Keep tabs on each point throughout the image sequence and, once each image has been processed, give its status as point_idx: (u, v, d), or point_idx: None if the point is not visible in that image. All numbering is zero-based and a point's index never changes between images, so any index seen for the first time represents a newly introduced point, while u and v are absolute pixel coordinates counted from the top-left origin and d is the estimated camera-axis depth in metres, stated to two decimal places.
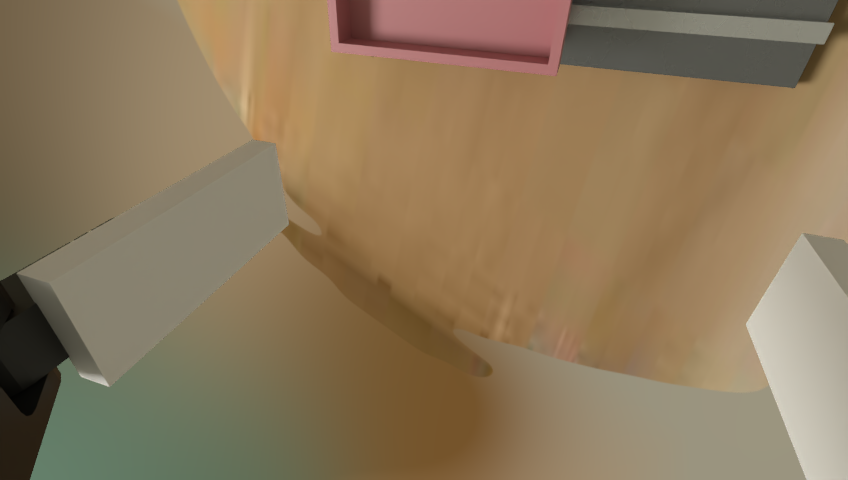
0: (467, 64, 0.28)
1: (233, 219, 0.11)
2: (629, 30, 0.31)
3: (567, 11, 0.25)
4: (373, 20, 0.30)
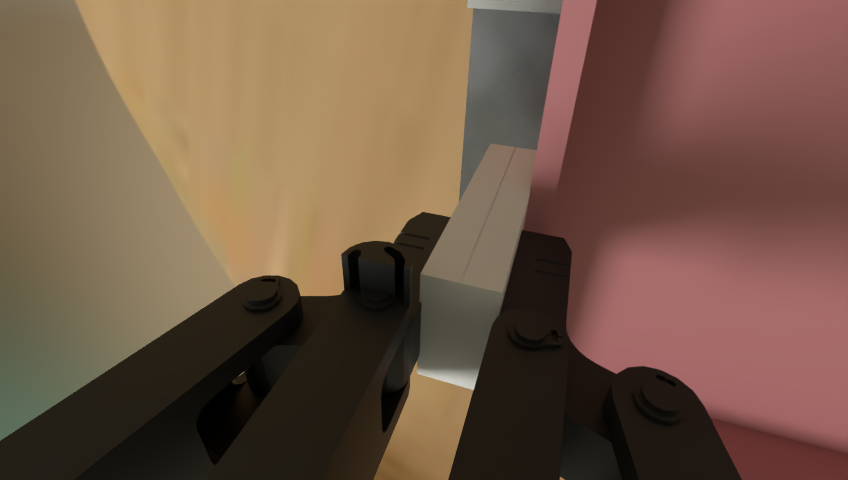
0: None
1: None
2: None
3: None
4: None
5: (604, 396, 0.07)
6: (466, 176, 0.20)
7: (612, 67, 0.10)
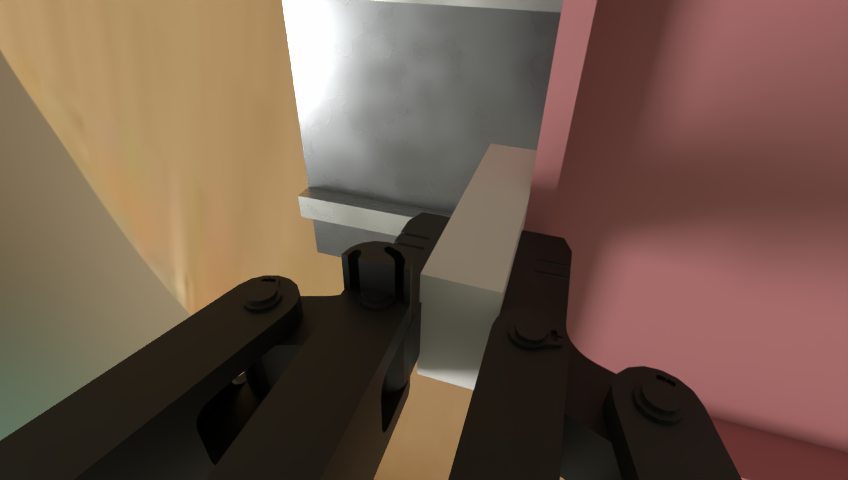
0: None
1: None
2: None
3: None
4: None
5: (604, 396, 0.07)
6: (307, 150, 0.21)
7: (612, 65, 0.10)
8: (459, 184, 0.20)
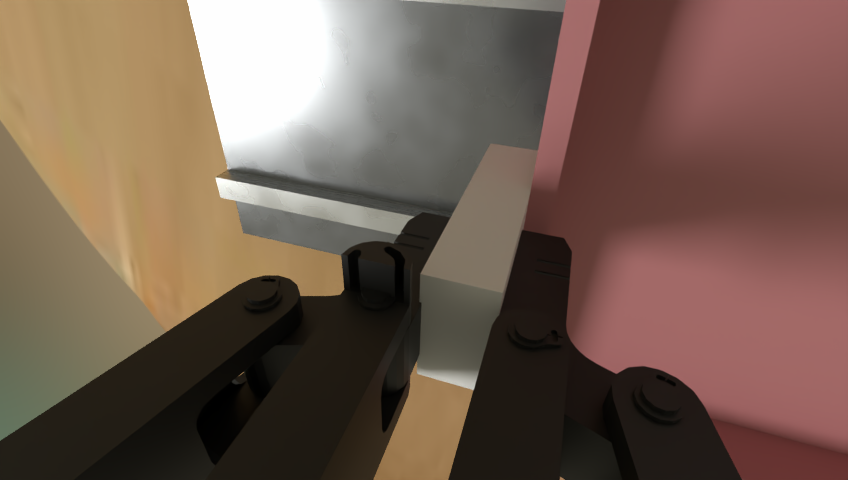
0: None
1: None
2: None
3: None
4: None
5: (604, 396, 0.07)
6: (223, 133, 0.23)
7: (614, 66, 0.10)
8: (360, 166, 0.21)
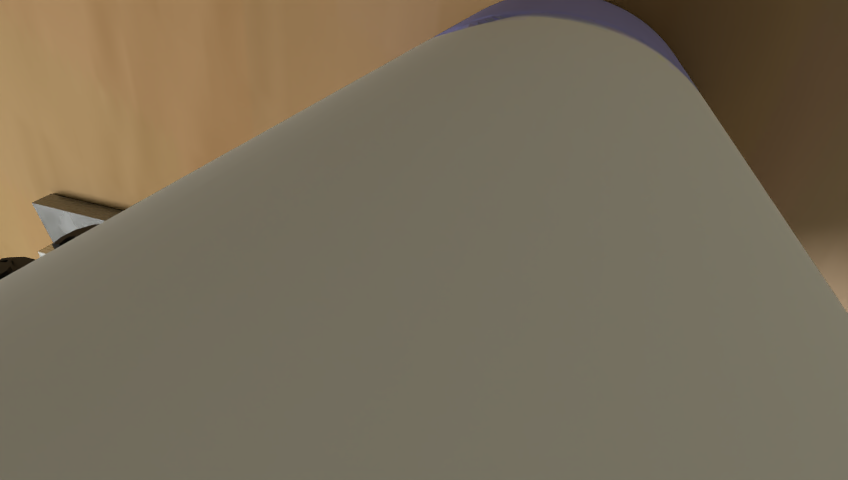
0: None
1: None
2: None
3: None
4: None
5: None
6: None
7: None
8: None
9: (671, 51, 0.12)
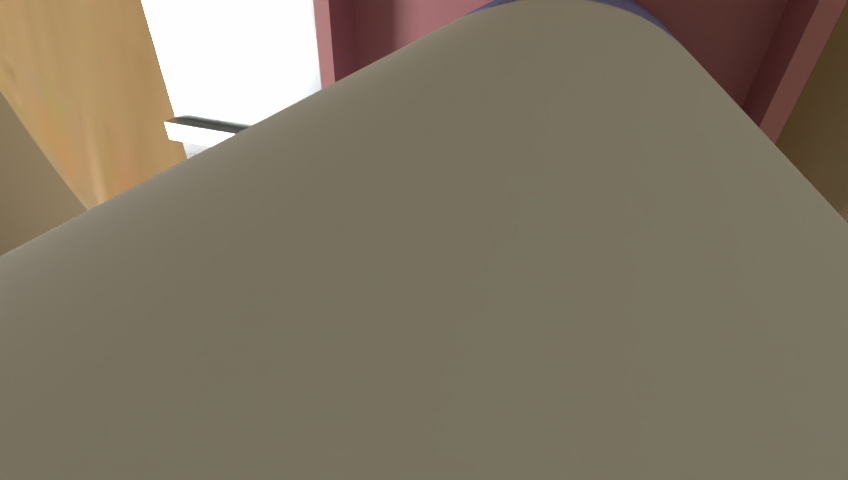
0: None
1: None
2: None
3: None
4: None
5: None
6: (169, 87, 0.29)
7: (371, 11, 0.17)
8: (271, 109, 0.27)
9: None
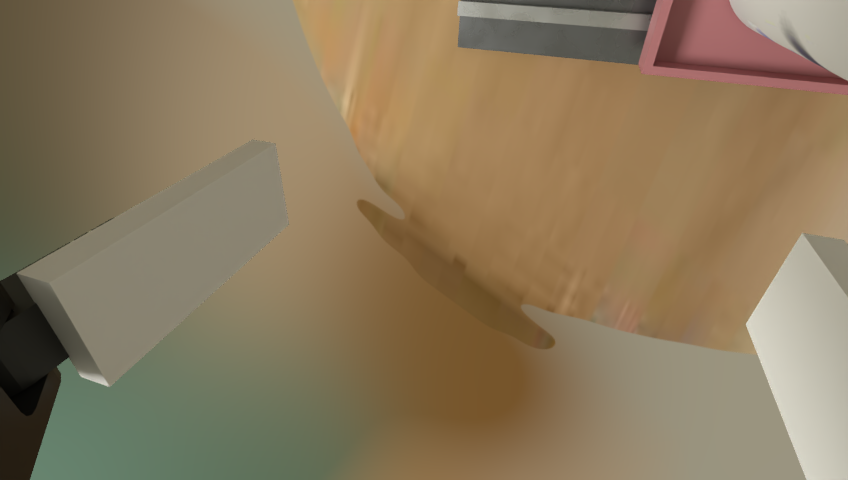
0: (790, 87, 0.31)
1: (233, 219, 0.11)
2: None
3: None
4: (680, 44, 0.33)
5: None
6: None
7: None
8: None
9: None
